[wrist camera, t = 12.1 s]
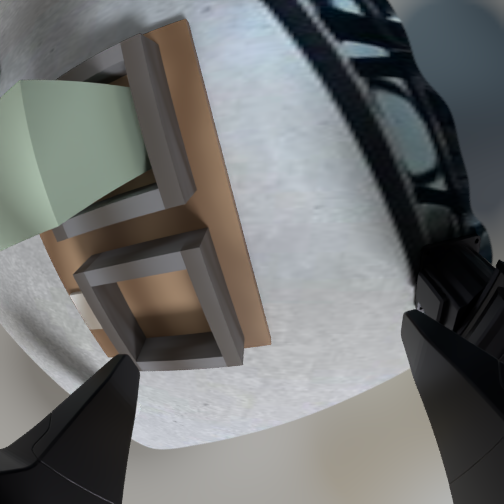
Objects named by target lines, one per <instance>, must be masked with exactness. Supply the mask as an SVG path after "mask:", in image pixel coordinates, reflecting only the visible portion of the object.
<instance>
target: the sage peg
mask: <svg viewBox="0 0 504 504" xmlns="http://www.w3.org/2000/svg"><path fill="white" fill-rule="evenodd" d="M150 169H152V167H151V163H150V160H149V157H148V153H147V150H146V146H145V143H144V139H143V136H142V132H141V129H140V125H139V121H138V118H137V114H136V110H135V106H134V102H133V98H132V94H131V90H130V87H124V86H117V85H109V84H100V83H90V82H78V81H61V80H19V81H18V82H17V83H16V84H15V85H14V86H13V87H11V88H10V89H9V90H8V91H7V92H6V93H5V94H4V95H3V96H2V97H1V98H0V251H2V250H4V249H6V248H8V247H10V246H13V245H15V244H17V243H19V242H22V241H24V240H26V239H29V238H31V237H33V236H36V235H38V234H40V233H43V232H45V231H48V230H50V229H53V228H55V227H58V226H60V225H61V224H62V223H64V222H65V221H67V220H68V219H70V218H71V217H73V216H74V215H76V214H77V213H79V212H80V211H82V210H83V209H85V208H86V207H88V206H89V205H91V204H92V203H94V202H95V201H97V200H99V199H100V198H102V197H103V196H105V195H107V194H108V193H110V192H112V191H113V190H115V189H117V188H118V187H120V186H122V185H123V184H125V183H127V182H129V181H130V180H132V179H134V178H136V177H137V176H139V175H141V174H143V173H145V172H147V171H148V170H150Z"/></svg>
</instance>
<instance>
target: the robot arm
mask: <svg viewBox="0 0 504 504" xmlns="http://www.w3.org/2000/svg"><path fill="white" fill-rule="evenodd" d="M475 240H476V241H475ZM480 240H481V238H480V236H478V235H477V234H473V235H469V236H464V237H460V238H456V239H452V240H448V241H443V242H439V243H435V244H431V245H426V246H424V247H423V248H422V250H421V260H420V272H419V274H418V280H417V290H416V306H415V307H416V309H414V310H410V311H406V312H405V313H404V314H403V320H402V328H401V338H402V341H403V344H404V347H405V351H406V354H407V357H408V361H409V364H410V368H411V371H412V375H413V378H414V381H415V384H416V386H417V389H418V391H419V394H420V396H421V399H422V401H423V404H424V407H425V409H426V412H427V415H428V417H429V420H430V423H431V426H432V429H433V432H434V435H435V438H436V441H437V444H438V447H439V451H440V454H441V457H442V460H443V464H444V467H445V471H446V475H447V478H448V482H449V486H450V490H451V495H452V498H453V503H454V504H504V262H503V261H501V260H498V262H497V264H496V268H494V267H493V266H492V265H491V264H490V263H489V262H488V261H487V260H486V259H485V258H483V257H482V256H481V255H480V254H479V248H480ZM428 250H429V251H428ZM427 251H428V253H427V254H426V252H427ZM423 311H425V313H426V314H427V315H426V314H424V313H422V312H423ZM139 379H140V372H139V369H138V367H137V366H136V364H135V363H134V362H133V360H132V359H131V357H130V356H129V355H128V354H117V355H116V356H114V357H113V358H112V359H111V360H110V361H109V362H108V363H106V364H105V365H104V366H103V367H102V368H101V369H100V370H98V371H97V372H96V373H95V374H94V375H93V376H92V377H90V378H89V379H88V380H87V381H86V382H85V383H84V384H82V385H81V386H80V387H79V388H78V389H77V390H76V391H74V392H73V393H72V394H71V395H70V396H69V397H68V398H67V399H65V400H64V401H63V402H62V403H61V404H60V405H59V406H58V407H56V408H55V409H54V410H53V411H52V413H50V414H49V415H47V416H46V417H45V418H44V419H43V420H42V421H41V422H40V423H38V424H37V425H36V426H35V427H33V428H32V429H31V430H30V431H28V432H27V433H26V434H24V435H23V436H22V437H20V438H19V439H18V440H16V441H15V442H14V443H12V444H11V445H9V446H8V447H6V448H3V449H0V504H122V498H123V489H124V481H125V474H126V467H127V461H128V454H129V448H130V442H131V437H132V431H133V426H134V420H135V415H136V408H137V398H138V388H139Z"/></svg>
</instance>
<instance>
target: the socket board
mask: <svg viewBox="0 0 504 504" xmlns="http://www.w3.org/2000/svg"><path fill="white" fill-rule="evenodd" d="M56 80H61V81H78V82H90V83H100V84H109V85H117V86H124V87H130V90H131V94H132V98H133V102H134V106H135V110H136V114H137V118H138V121H139V125H140V129H141V132H142V136H143V139H144V143H145V146H146V150H147V153H148V157H149V160H150V163H151V167H152V169H150V170H148V171H147V172H145V173H143V174H141V175H139V176H137V177H136V178H134V179H132V180H130V181H129V182H127V183H125V184H123V185H122V186H120V187H118V188H117V189H115V190H113V191H112V192H110V193H108V194H107V195H105V196H103V197H102V198H100V199H99V200H97V201H95V202H94V203H92V204H91V205H89V206H88V207H86V208H85V209H83V210H82V211H80V212H79V213H77V214H76V215H74V216H73V217H71V218H70V219H68V220H67V221H65V222H64V223H62V224H61V225H60V226H58V227H55V228H53V229H50V230H48V231H45V232H43V233H40V237H41V239H42V241H43V244H44V246H45V248H46V250H47V253H48V255H49V257H50V259H51V261H52V263H53V265H54V267H55V269H56V271H57V273H58V275H59V277H60V279H61V281H62V283H63V285H64V287H65V289H66V291H67V292H68V294H69V296H70V298H71V300H72V301H73V303H74V305H75V307H76V308H77V310H78V312H79V313H80V315H81V317H82V318H83V320H84V322H85V323H86V325H87V326H88V328H89V329H90V331H91V333H92V334H93V336H94V337H95V339H96V340H97V342H98V343H99V345H100V346H101V348H102V349H103V351H104V352H105V353H106V355H107V356H108V357H114V356H116V355H117V354H128V355H129V356H130V357H131V359H132V360H133V362H134V363H135V364H136V366H137V367H138V369H139V371H172V370H192V369H207V368H219V367H230V366H239V365H243V354H244V348H250V347H258V346H265V345H271V336H270V332H269V329H268V325H267V321H266V317H265V314H264V310H263V306H262V302H261V299H260V295H259V291H258V287H257V283H256V280H255V276H254V272H253V268H252V265H251V261H250V257H249V253H248V249H247V246H246V242H245V238H244V234H243V231H242V227H241V223H240V219H239V215H238V211H237V208H236V204H235V200H234V196H233V192H232V189H231V185H230V181H229V177H228V173H227V169H226V166H225V162H224V158H223V154H222V150H221V146H220V143H219V139H218V135H217V131H216V127H215V123H214V119H213V116H212V112H211V108H210V104H209V100H208V96H207V92H206V89H205V85H204V81H203V77H202V73H201V69H200V65H199V61H198V57H197V53H196V50H195V46H194V42H193V38H192V34H191V30H190V26H189V22H188V21H187V20H186V19H183V20H180V21H177V22H175V23H172V24H169V25H166V26H164V27H161V28H158V29H156V30H153V31H151V32H148V33H146V34H143V35H142V34H140V33H139V34H137V35H135V36H133V37H130V38H128V39H126V40H124V41H122V42H120V43H118V44H116V45H114V46H112V47H110V48H108V49H106V50H104V51H102V52H100V53H99V54H97V55H95V56H93V57H91V58H90V59H88V60H86V61H84V62H83V63H81V64H79V65H78V66H76V67H75V68H73V69H71V70H70V71H68V72H67V73H65V74H64V75H62V76H61V77H59V78H58V79H56Z"/></svg>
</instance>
